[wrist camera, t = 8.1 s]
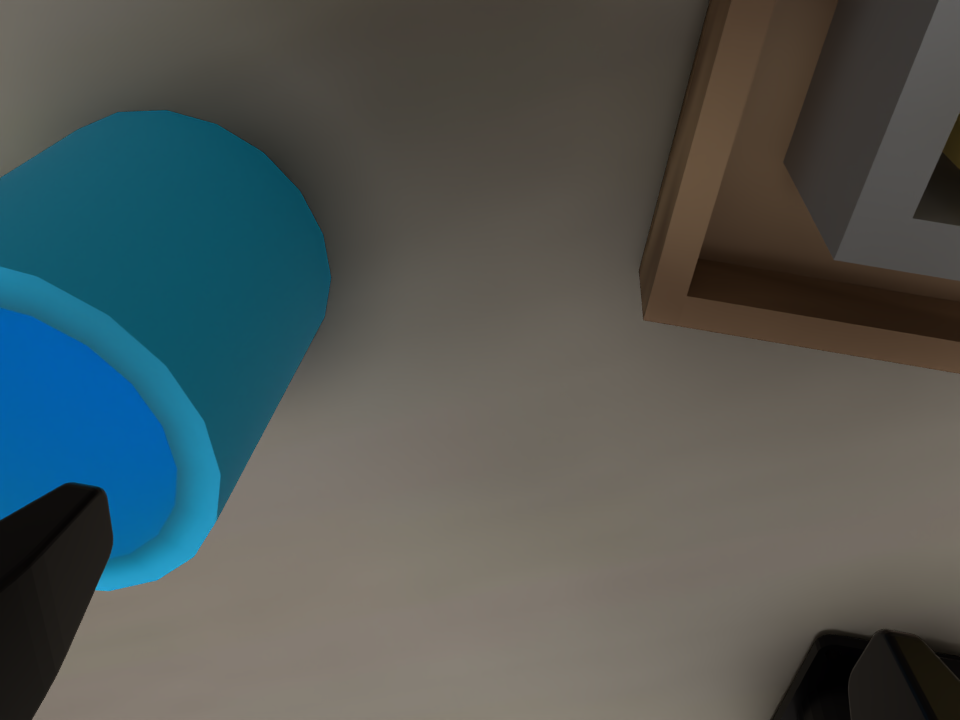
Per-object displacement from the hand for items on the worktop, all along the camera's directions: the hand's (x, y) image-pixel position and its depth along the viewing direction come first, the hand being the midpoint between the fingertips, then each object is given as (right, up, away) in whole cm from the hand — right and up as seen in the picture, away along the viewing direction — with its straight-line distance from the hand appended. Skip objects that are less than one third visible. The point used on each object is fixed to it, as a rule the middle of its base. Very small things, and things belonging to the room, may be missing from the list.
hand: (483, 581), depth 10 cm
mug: (-10, +6, +14) cm, 18 cm away
